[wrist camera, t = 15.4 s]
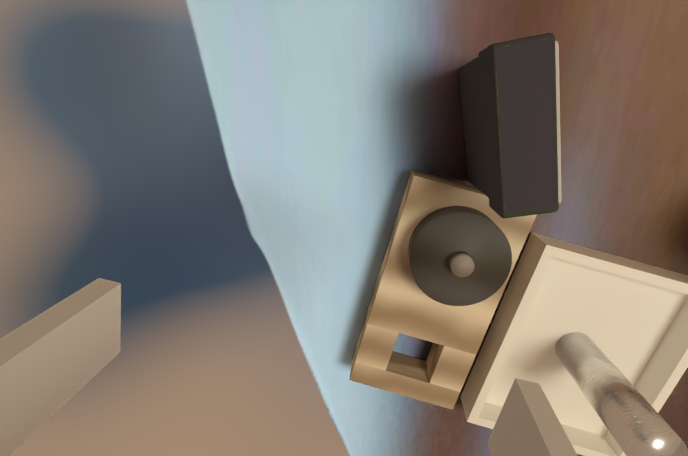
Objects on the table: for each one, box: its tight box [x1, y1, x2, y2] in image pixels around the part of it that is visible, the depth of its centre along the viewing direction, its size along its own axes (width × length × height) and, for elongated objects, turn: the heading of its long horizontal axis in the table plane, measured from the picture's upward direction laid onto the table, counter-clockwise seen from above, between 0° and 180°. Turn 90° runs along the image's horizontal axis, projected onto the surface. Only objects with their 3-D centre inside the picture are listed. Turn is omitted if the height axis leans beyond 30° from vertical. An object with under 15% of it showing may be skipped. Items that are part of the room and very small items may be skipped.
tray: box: [460, 232, 688, 456], centre depth 42 cm, size 22×18×4 cm
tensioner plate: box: [350, 170, 537, 410], centre depth 40 cm, size 24×12×8 cm, turn 166°
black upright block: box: [459, 33, 561, 219], centre depth 31 cm, size 11×4×15 cm, turn 10°
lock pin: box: [555, 332, 688, 456], centre depth 36 cm, size 4×4×14 cm
